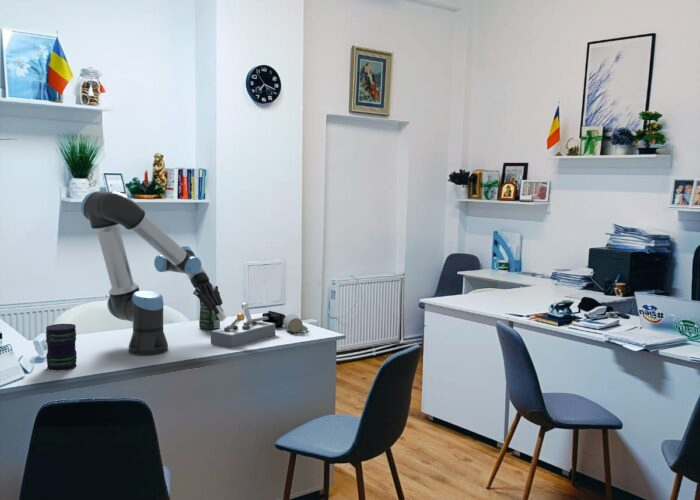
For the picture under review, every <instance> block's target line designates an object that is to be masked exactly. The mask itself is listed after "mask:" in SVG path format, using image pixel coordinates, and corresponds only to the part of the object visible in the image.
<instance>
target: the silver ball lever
mask: <svg viewBox="0 0 700 500" xmlns="http://www.w3.org/2000/svg"><path fill="white" fill-rule="evenodd" d="M240 307H241V309H242V310H243V314H244V316H245V319H246V322H245V323H249V325H252V324H254V323H255V322H254V320H252V319H253V318H252V316H251V313H250V309H249V303H247V302H243V303H242V304H241V306H240Z"/></svg>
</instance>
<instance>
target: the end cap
mask: <svg viewBox="0 0 700 500" xmlns="http://www.w3.org/2000/svg"><path fill="white" fill-rule="evenodd" d="M265 316H267V317H268V318H269V319H267V320H263V321H262V322H267V323H273V324H275V329H279V328H283V327H284V323H283V322H284V318H285V317H286V316H287V315H285V314H284V313H281V312H276V311H273V310H268V312H264V313H262V316H261V317H265Z"/></svg>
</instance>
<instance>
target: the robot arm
mask: <svg viewBox="0 0 700 500" xmlns="http://www.w3.org/2000/svg"><path fill="white" fill-rule="evenodd" d="M80 211H81V213H82V214H81V215H83V217H84V218H86V219H87V220H89V224H90V227H91V229H92V230H94V231H95V232H96V233H97V237H98V241H99V246H100V248H101V252H102V256H103V261H104V263H105V268H106V270H107V271H106V272H107V274H108V279H109V281H110V282H109V283H110V286H111V288H110V289H109V291H108V294H109V297H108V299H107V301H106V302H107V303H106V304H107V309H108V311H109V313H110V314H111V316H113V317H114V318H116V319H118V320H122V321H129V322H132V335H131V336H130V340H129V343H128V347H127V348H128V353H129V354H131V355H135V356H152V355H159V354H162V353H163V354H164V353H166V352H167V351H168V350H169V344H168V340H167V337H166V334H165V331H164V305H165V303H164V299H163V298H164V297H163V295H162V293H159V292H157V291H153V290H152V291H151V290H140V288H139V284H137V283H136V282H135V281H134V278H133V275H132V272H131V267H130V264H129V260H128V256H127V251H126V248H125V244H124V240H123V237H122V232H121V228H120V226H123V227H124V228H125V229H126V230H129V231H131V230H132V231H133V232H134V233H136V234H137V235H138V236H139V237H140V238H141V239H142V240H144V241H145V242H146V243H147V244H148V245H150V246H151V248H153V249H154V250H156V251H157V252H158V253H159V254H158V255H157V256H155V258H154V263H153V264H154V268H155V269H156V271H157V272H159V273H166V272H173V273H178V274H179V273H181V274H185V275H186V276H187V278H188V280H189V281H190V283H191V285H192V287H193V288H194V289H195V290H194V291H193V292H192V294H193V295H195V296H196V298H198V300H199V301H200V300H201V302H202V303H203V304H204V305H205V306H206V307H207V308H208V309H209V308H211V309H210V310H213V311H214V313H215V314H216V315H217V316H218V318H219V320H220V322H224V321H225V320H226V318H227V316H226V315H225V313H224V309H223V308H222V305H223V300H222V297H221V293H220V294H219V292H220V291H219V286H218V285H216V286H214V285H213V284H212V283H211V282H210V277H209V276H208V274H207V273H206V272H205V269H204V268H203V266H202V261H201V259H200V258H199V257H196V254H195V252H194V251H193V250H192V248H191V247H190V246H188V245H182V246H181V245H179V244H178V243H177V242H176V241H175V240H173V238H171V236H169V235H168V234H167V233H166V232H165V231H164V230H162V229H161V228H160V227H159V226H158V225H157V224H155V223H154V221H153V220H152V219H150V218H149V217H148V216H147V215H146V211H145V210H144V209H143V208H142V207H141V206H139V204H138V203H136V202H135V201H134V200H133V199H131V198H130V197H129V196H127V195H125V194H124V193H122V192H119V191H103V190H99V191H98V190H97V191H93V192H90V193H88V194H86V195H85V196H84V198H83V200H82V201H81V205H80ZM136 234H135V235H136Z"/></svg>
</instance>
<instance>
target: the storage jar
mask: <svg viewBox="0 0 700 500" xmlns="http://www.w3.org/2000/svg"><path fill="white" fill-rule="evenodd" d="M76 328H77V327H76V324H72V323H57V324H50V325H47V326H46V327H45V329H46V331H45V339H46V340H45V341H46V347H47V348H46V351H47V352H46V362H47V363H46V365H47V366H46V369H47V370H48V369H49V370H48V371H50V370H56V371H55V372H61V371H60V370H65V371H70V370H73V369H75V368H77V360H78V359H77V354H78V353H77V351H76V341H77V332H76V331H77V330H76ZM69 369H70V370H69ZM57 370H59V371H57Z"/></svg>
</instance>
